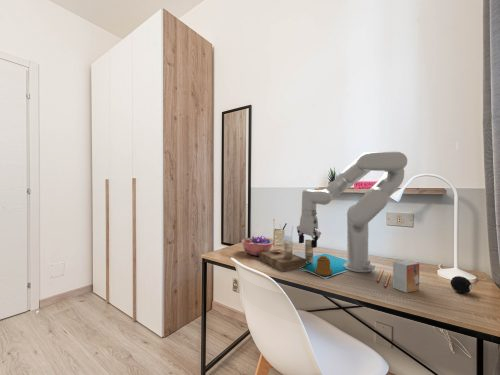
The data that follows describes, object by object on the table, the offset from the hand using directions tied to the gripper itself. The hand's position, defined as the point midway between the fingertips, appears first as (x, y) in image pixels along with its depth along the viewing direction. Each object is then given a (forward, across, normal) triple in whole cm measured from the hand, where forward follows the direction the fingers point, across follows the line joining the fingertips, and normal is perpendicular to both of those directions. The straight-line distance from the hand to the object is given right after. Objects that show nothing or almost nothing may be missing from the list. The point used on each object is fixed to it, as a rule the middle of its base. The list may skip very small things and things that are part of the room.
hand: (307, 245), depth 128 cm
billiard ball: (+7, -56, -27) cm, 62 cm away
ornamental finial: (+9, -16, +4) cm, 19 cm away
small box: (+8, -44, -12) cm, 46 cm away
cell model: (+11, +26, +15) cm, 32 cm away
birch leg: (+9, -1, -1) cm, 9 cm away
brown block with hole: (+10, +6, +12) cm, 17 cm away
